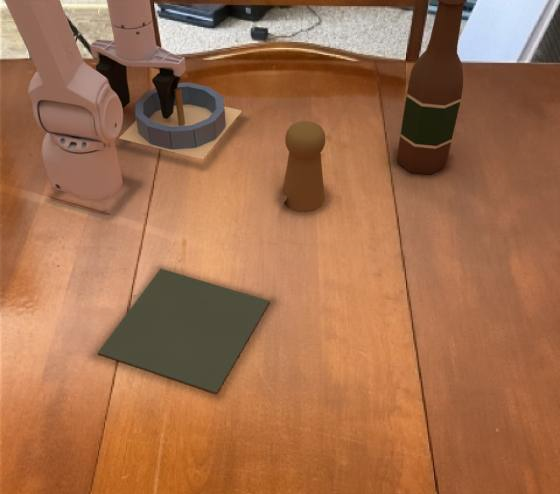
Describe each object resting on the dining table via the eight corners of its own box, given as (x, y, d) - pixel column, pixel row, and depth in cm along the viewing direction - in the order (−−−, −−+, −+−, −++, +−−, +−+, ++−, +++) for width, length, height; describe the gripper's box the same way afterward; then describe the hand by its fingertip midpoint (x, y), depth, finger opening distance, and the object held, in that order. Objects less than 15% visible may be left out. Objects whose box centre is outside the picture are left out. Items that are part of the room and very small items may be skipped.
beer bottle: (455, 155, 102) (496, -16, 83) (434, 182, 97) (471, 8, 79) (408, 139, 104) (437, -31, 85) (385, 165, 100) (410, -8, 81)
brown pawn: (320, 214, 93) (325, 143, 84) (277, 208, 94) (277, 137, 85) (327, 187, 97) (332, 117, 88) (286, 182, 97) (287, 111, 89)
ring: (122, 137, 102) (118, 119, 99) (164, 94, 109) (161, 76, 107) (201, 157, 99) (199, 138, 96) (238, 111, 106) (238, 93, 104)
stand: (120, 146, 103) (111, 104, 97) (164, 100, 111) (158, 58, 105) (203, 168, 99) (199, 124, 94) (242, 119, 108) (240, 76, 102)
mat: (97, 354, 77) (97, 352, 77) (160, 270, 86) (160, 268, 86) (216, 394, 74) (216, 392, 74) (269, 302, 83) (269, 300, 82)
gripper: (191, 16, 95) (200, 106, 105) (101, -2, 98) (118, 87, 109) (167, 39, 90) (179, 130, 101) (74, 19, 94) (95, 110, 105)
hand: (146, 110), depth 105 cm, fingers open, 7 cm apart
